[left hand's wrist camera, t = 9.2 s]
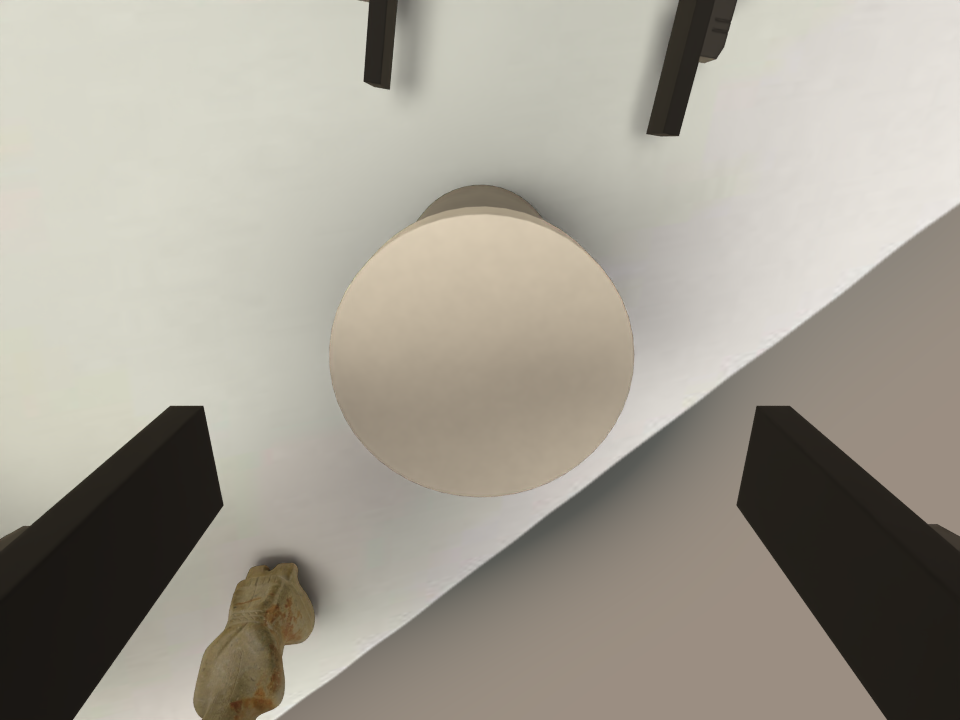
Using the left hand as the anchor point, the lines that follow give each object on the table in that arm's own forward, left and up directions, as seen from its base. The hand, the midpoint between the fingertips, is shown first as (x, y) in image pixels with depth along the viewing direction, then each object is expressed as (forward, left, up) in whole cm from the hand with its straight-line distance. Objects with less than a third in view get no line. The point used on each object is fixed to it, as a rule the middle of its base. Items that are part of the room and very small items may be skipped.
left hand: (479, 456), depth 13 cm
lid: (0, 0, -6) cm, 6 cm away
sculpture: (-29, -8, -23) cm, 38 cm away
